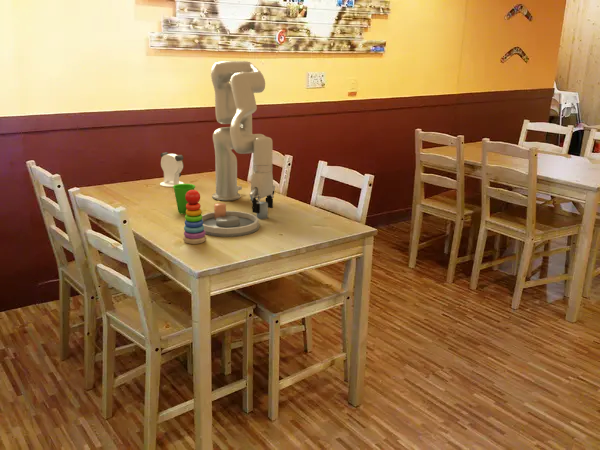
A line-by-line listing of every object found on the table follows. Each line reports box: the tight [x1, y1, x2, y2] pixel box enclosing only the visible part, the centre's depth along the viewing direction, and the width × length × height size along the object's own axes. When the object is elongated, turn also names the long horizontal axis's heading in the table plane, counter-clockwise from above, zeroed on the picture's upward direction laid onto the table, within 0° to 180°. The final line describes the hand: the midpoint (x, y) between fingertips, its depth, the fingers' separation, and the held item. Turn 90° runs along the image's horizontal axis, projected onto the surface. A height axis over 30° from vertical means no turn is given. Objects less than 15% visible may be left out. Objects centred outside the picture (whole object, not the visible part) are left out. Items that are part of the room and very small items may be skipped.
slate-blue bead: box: [256, 201, 269, 220], centre depth 236 cm, size 4×4×6 cm
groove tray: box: [201, 210, 260, 238], centre depth 223 cm, size 24×24×3 cm
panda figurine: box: [159, 151, 185, 188], centre depth 283 cm, size 12×11×15 cm
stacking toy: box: [182, 189, 207, 245], centre depth 204 cm, size 8×8×19 cm
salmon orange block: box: [213, 202, 227, 220], centre depth 228 cm, size 4×4×6 cm
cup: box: [172, 183, 196, 215], centre depth 239 cm, size 9×9×11 cm
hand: (262, 210), depth 235 cm, fingers open, 9 cm apart
